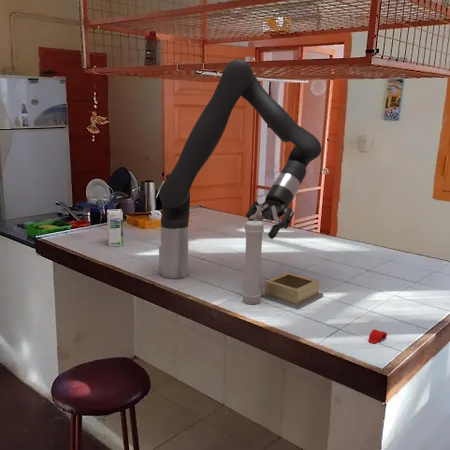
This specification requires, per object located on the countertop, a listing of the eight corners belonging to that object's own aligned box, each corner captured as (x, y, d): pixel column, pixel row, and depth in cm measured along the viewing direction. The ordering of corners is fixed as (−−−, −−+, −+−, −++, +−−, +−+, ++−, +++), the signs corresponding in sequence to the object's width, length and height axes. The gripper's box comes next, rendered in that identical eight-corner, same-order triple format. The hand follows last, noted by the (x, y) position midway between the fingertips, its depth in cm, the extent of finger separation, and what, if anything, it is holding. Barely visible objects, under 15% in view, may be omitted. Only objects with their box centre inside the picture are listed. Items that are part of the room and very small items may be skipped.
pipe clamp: (375, 346, 125) (376, 338, 124) (365, 342, 127) (366, 334, 126) (389, 335, 131) (390, 328, 130) (379, 332, 133) (379, 325, 132)
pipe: (254, 296, 154) (258, 200, 147) (265, 303, 149) (270, 204, 142) (238, 299, 152) (242, 202, 145) (249, 307, 146) (253, 206, 139)
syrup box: (109, 247, 202) (108, 211, 199) (107, 243, 208) (106, 208, 204) (123, 246, 204) (122, 211, 201) (121, 242, 210) (121, 208, 206)
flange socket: (259, 296, 154) (260, 281, 153) (285, 285, 165) (286, 270, 164) (297, 309, 145) (298, 293, 144) (323, 296, 156) (324, 281, 155)
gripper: (259, 180, 154) (234, 223, 149) (298, 186, 145) (273, 231, 140) (269, 195, 159) (244, 237, 154) (307, 202, 150) (283, 246, 145)
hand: (258, 234), depth 147 cm, fingers open, 8 cm apart
